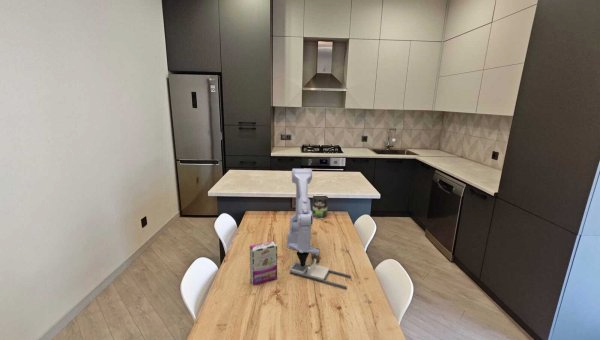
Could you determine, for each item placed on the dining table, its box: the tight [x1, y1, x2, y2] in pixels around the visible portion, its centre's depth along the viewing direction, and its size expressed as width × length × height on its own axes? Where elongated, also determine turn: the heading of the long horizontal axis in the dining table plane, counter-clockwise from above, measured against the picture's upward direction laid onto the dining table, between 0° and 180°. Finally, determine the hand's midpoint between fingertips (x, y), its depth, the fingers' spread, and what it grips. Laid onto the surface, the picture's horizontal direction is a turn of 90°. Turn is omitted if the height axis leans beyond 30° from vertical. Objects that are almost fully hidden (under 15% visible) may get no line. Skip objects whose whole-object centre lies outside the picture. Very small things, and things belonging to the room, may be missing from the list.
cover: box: [307, 259, 330, 280], centre depth 127 cm, size 8×9×4 cm
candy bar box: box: [249, 240, 278, 286], centre depth 122 cm, size 11×5×16 cm, turn 117°
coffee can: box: [311, 195, 329, 220], centre depth 192 cm, size 10×10×14 cm
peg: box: [311, 247, 321, 264], centre depth 138 cm, size 4×4×6 cm
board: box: [289, 261, 352, 290], centre depth 127 cm, size 27×9×2 cm, turn 68°
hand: (303, 265), depth 130 cm, fingers closed
